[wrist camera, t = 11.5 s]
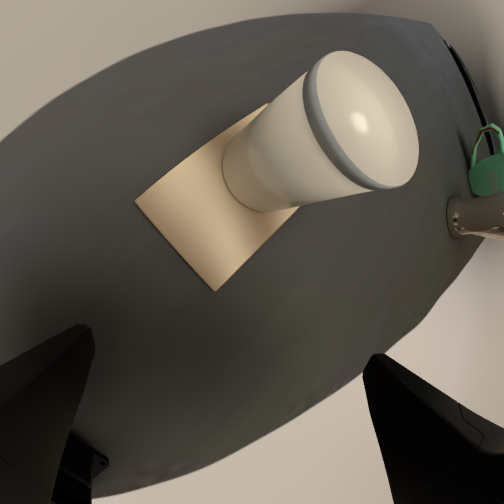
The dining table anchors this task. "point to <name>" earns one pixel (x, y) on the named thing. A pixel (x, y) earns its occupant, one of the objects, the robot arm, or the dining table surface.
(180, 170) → the mat
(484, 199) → the beer glass
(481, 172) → the mug
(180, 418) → the dining table surface
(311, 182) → the white lidded jar
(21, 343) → the dining table surface
